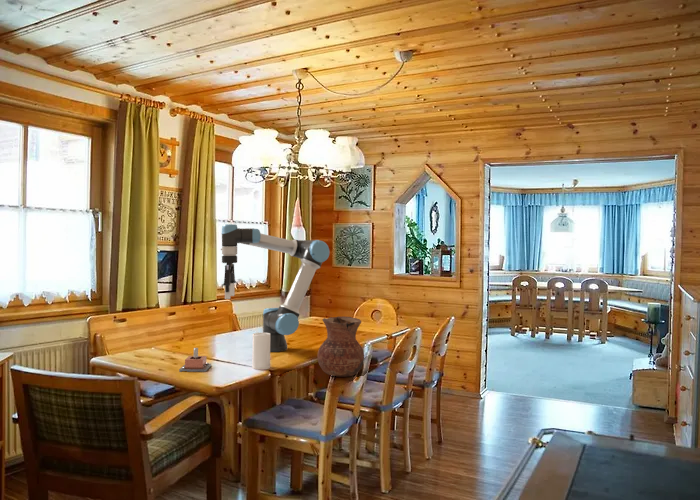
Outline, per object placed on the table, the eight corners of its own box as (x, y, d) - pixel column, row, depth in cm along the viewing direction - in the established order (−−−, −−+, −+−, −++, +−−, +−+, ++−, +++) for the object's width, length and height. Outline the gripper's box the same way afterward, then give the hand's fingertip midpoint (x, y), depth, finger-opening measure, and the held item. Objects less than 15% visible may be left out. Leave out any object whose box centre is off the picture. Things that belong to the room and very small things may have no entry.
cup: (253, 365, 261) (253, 332, 260) (270, 365, 261) (270, 332, 261) (251, 369, 252) (251, 335, 252) (269, 369, 253) (269, 335, 253)
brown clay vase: (370, 378, 240) (370, 321, 240) (323, 380, 234) (324, 322, 234) (355, 366, 261) (356, 314, 261) (312, 369, 255) (313, 315, 255)
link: (206, 364, 257) (206, 356, 257) (202, 368, 249) (202, 359, 249) (189, 364, 257) (189, 356, 257) (184, 368, 249) (185, 359, 249)
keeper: (211, 365, 259) (211, 345, 259) (206, 371, 248) (206, 350, 247) (185, 365, 259) (185, 345, 259) (179, 371, 247) (179, 350, 247)
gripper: (226, 254, 286) (226, 294, 286) (217, 255, 261) (217, 300, 261) (240, 254, 286) (240, 294, 287) (233, 255, 261) (233, 300, 262)
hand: (229, 297), depth 274 cm, fingers open, 13 cm apart
